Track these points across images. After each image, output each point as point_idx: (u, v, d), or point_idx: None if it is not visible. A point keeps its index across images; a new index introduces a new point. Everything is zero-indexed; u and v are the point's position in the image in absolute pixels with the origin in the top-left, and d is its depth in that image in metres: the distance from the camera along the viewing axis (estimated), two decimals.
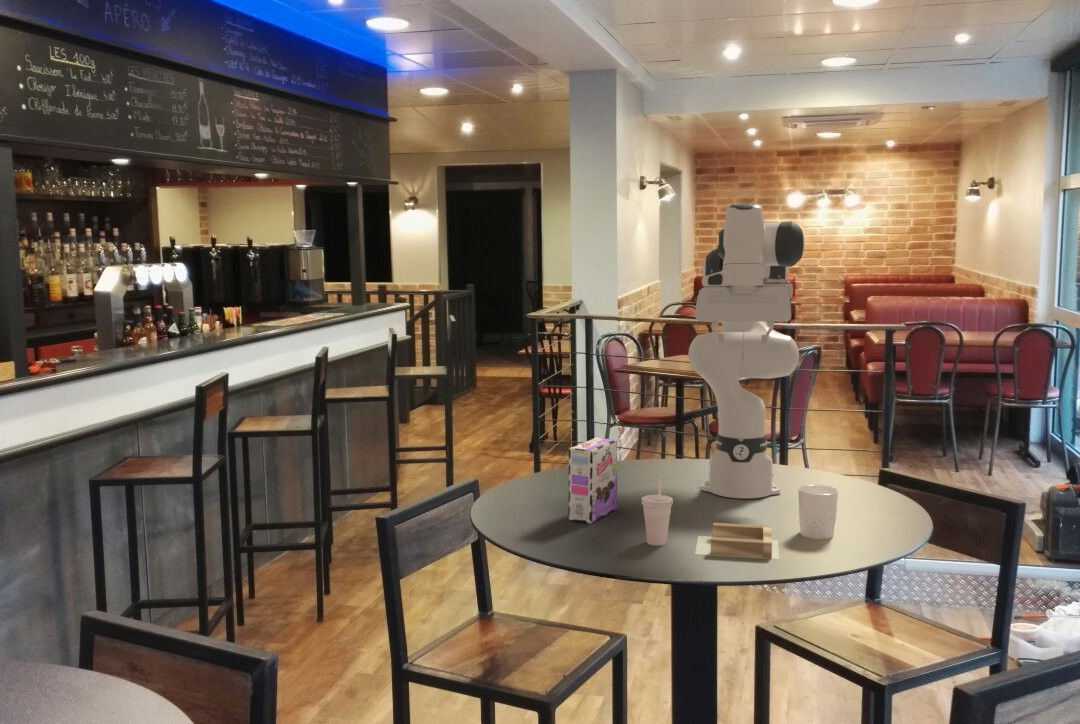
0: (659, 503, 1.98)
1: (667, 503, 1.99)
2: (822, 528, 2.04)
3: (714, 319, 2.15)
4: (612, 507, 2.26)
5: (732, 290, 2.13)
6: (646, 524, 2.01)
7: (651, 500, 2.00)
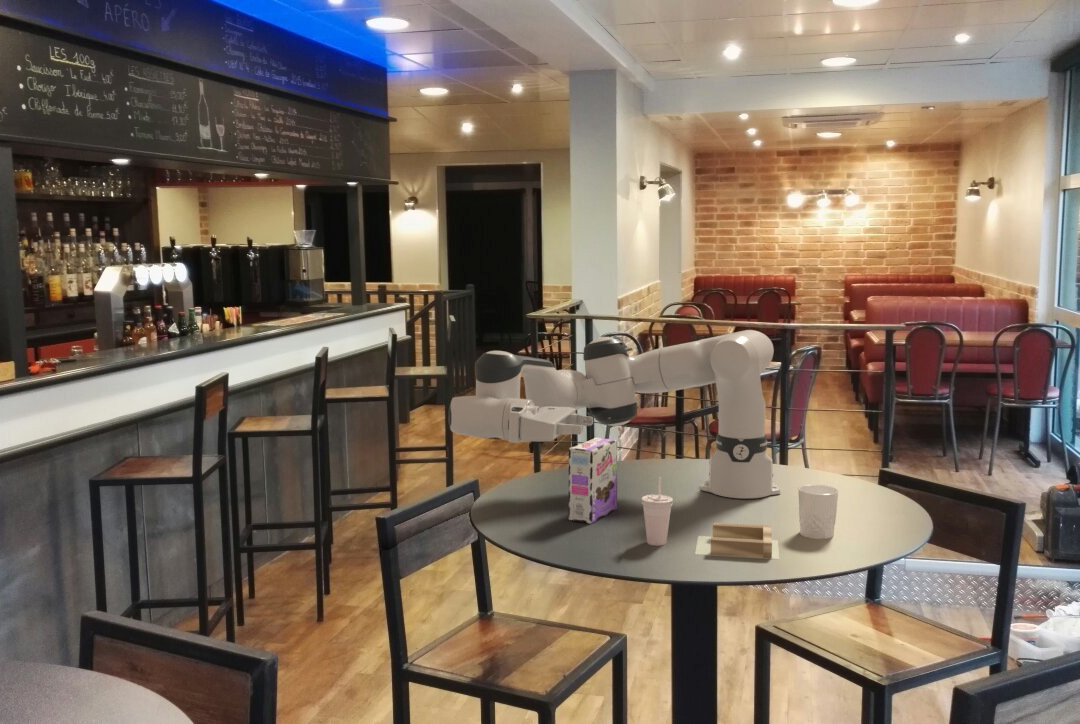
0: (659, 503, 1.98)
1: (667, 503, 1.99)
2: (822, 528, 2.04)
3: (556, 420, 1.99)
4: (612, 507, 2.26)
5: (532, 412, 2.04)
6: (646, 524, 2.01)
7: (651, 500, 2.00)
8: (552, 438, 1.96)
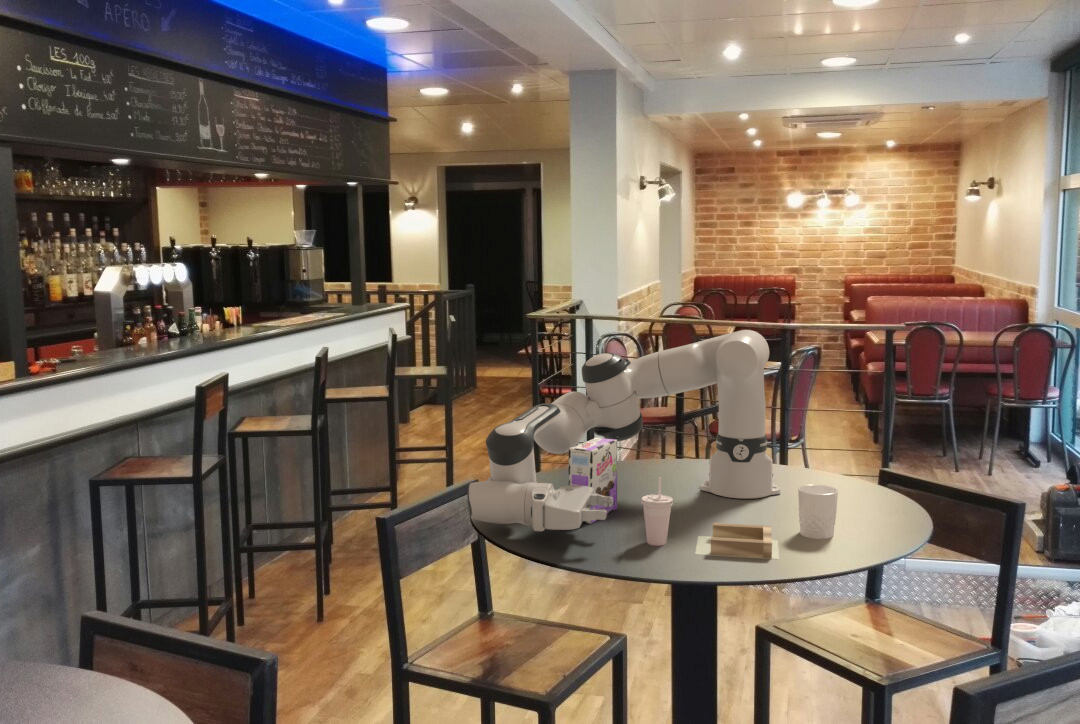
0: (659, 503, 1.98)
1: (667, 503, 1.99)
2: (822, 528, 2.04)
3: (580, 506, 1.98)
4: (612, 507, 2.26)
5: (553, 497, 2.03)
6: (646, 524, 2.01)
7: (651, 500, 2.00)
8: (578, 526, 1.95)
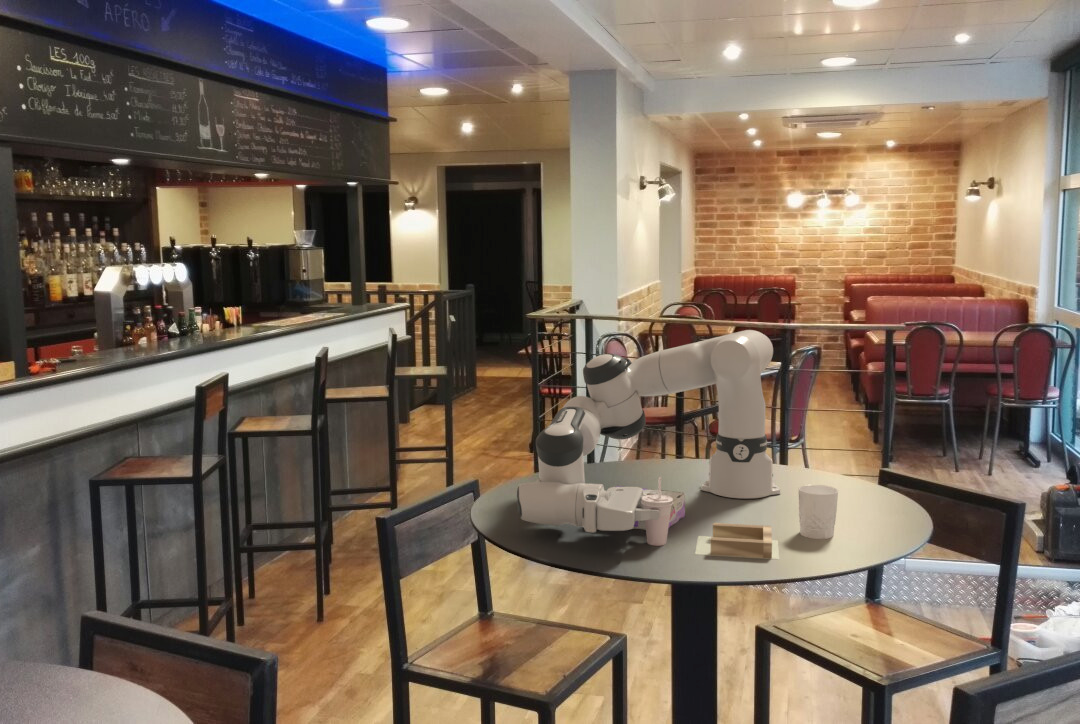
0: (659, 503, 1.98)
1: (667, 503, 1.99)
2: (822, 528, 2.04)
3: (633, 507, 1.96)
4: None
5: (604, 498, 2.01)
6: (646, 524, 2.01)
7: (651, 500, 2.00)
8: (631, 527, 1.93)
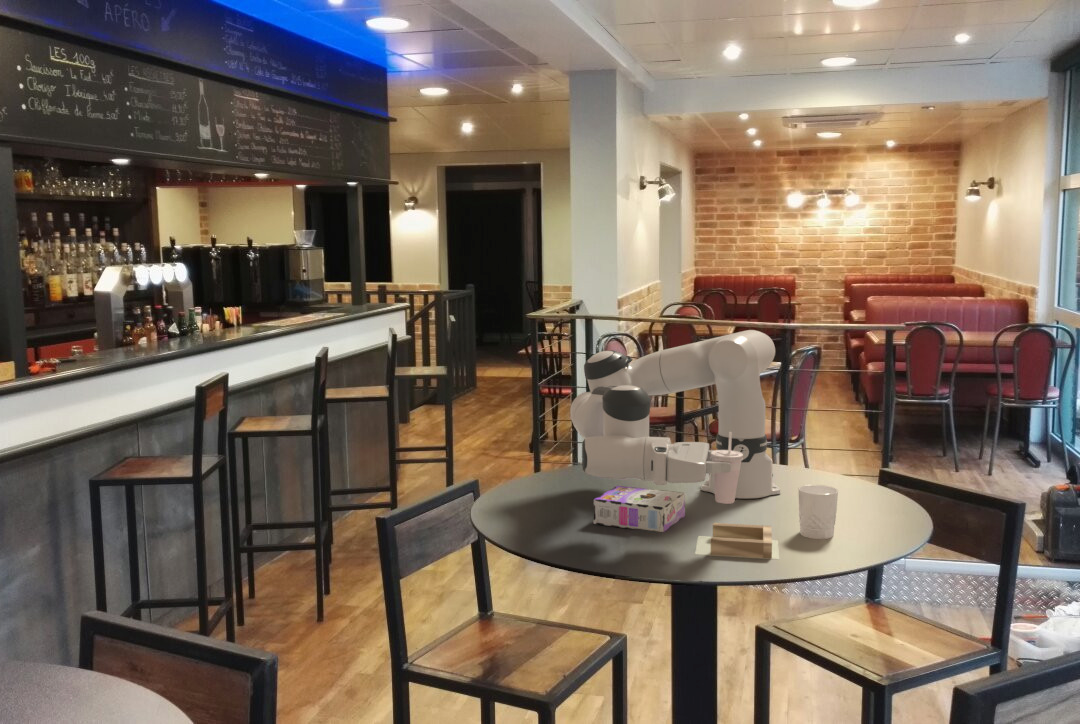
0: (730, 457, 1.94)
1: (738, 458, 1.94)
2: (822, 528, 2.04)
3: (704, 459, 1.92)
4: None
5: (673, 451, 1.97)
6: (715, 479, 1.97)
7: (721, 455, 1.96)
8: (703, 479, 1.89)
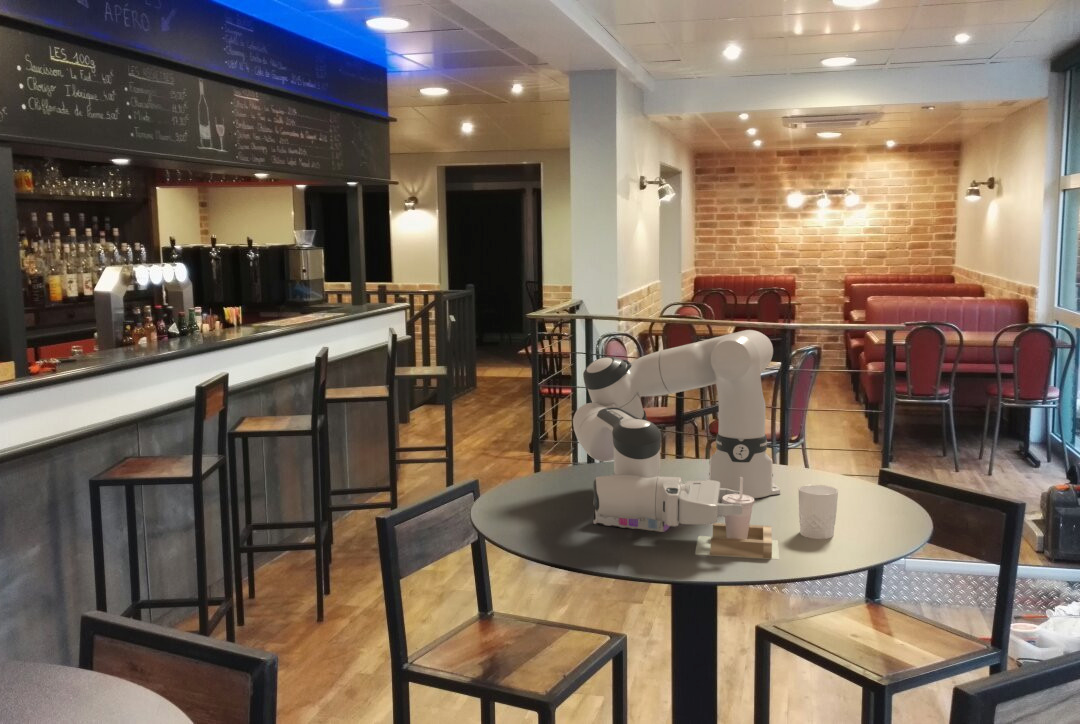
0: (742, 504, 1.96)
1: (749, 504, 1.96)
2: (822, 528, 2.04)
3: (716, 500, 1.93)
4: None
5: (685, 492, 1.98)
6: (727, 524, 1.99)
7: (733, 500, 1.97)
8: (715, 521, 1.90)
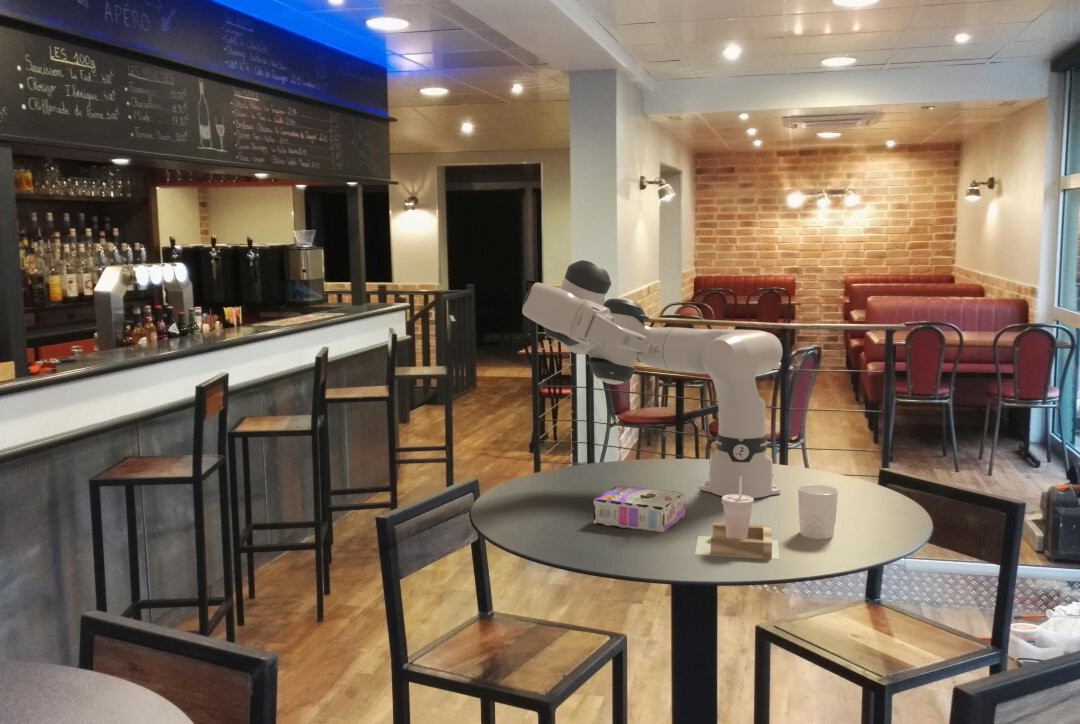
0: (741, 503, 1.96)
1: (749, 503, 1.97)
2: (822, 528, 2.04)
3: (628, 331, 1.97)
4: None
5: (606, 319, 2.02)
6: (727, 524, 1.99)
7: (732, 500, 1.98)
8: (618, 344, 1.94)
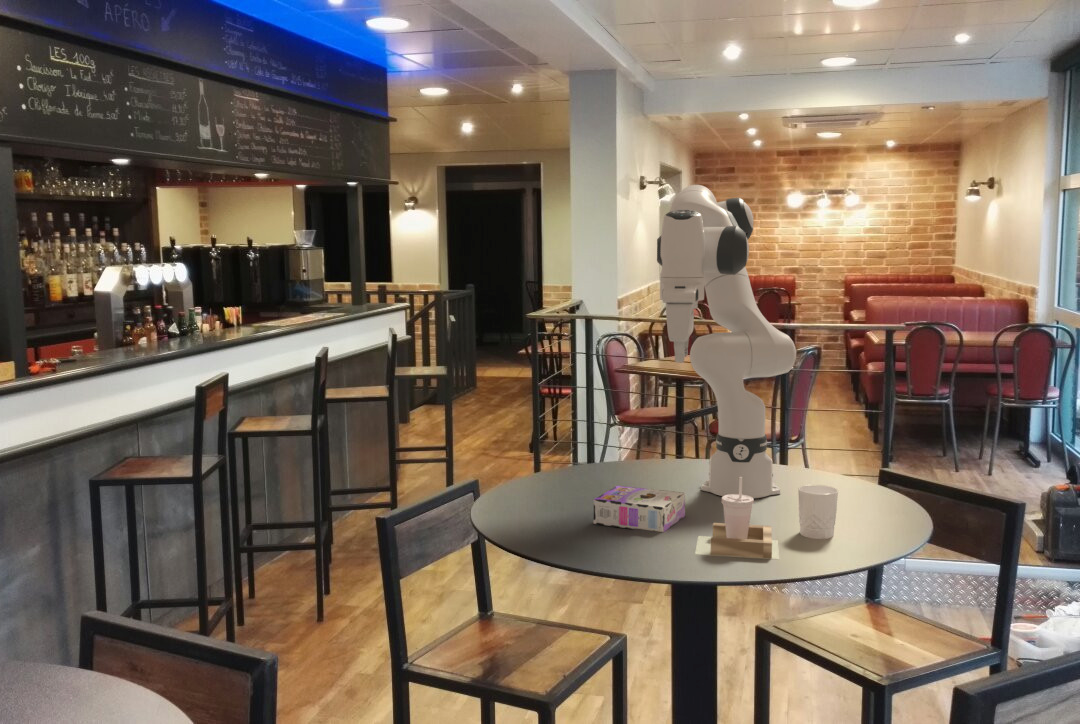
0: (741, 503, 1.96)
1: (749, 503, 1.97)
2: (822, 528, 2.04)
3: (688, 338, 1.97)
4: None
5: None
6: (727, 524, 1.99)
7: (732, 500, 1.98)
8: (671, 340, 1.94)
